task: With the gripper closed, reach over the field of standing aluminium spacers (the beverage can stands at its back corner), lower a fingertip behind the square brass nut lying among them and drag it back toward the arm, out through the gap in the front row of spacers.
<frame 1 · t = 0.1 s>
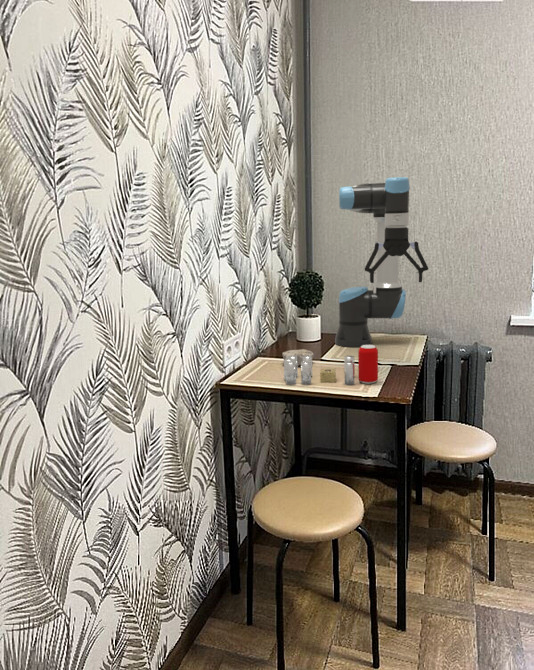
hand: (395, 292, 202), 28 cm above the table, fingers open, 13 cm apart
beverage can: (368, 382, 201), on the table
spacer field: (328, 380, 204), on the table
nut: (328, 380, 204), on the table
rock: (296, 365, 226), on the table
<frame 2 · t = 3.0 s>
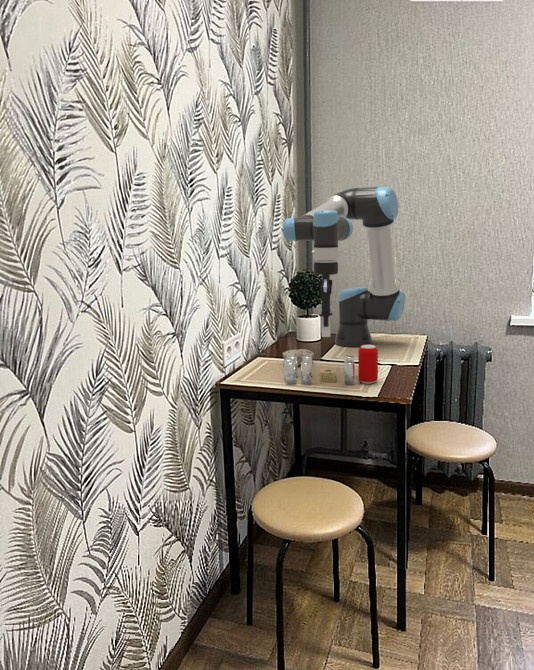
hand: (326, 336, 194), 16 cm above the table, fingers closed
nothing on the table moved.
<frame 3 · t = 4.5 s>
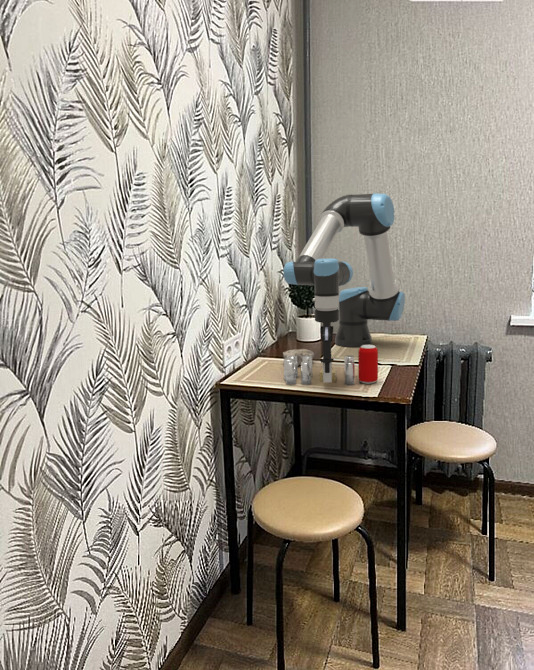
hand: (327, 381, 197), 2 cm above the table, fingers closed
nothing on the table moved.
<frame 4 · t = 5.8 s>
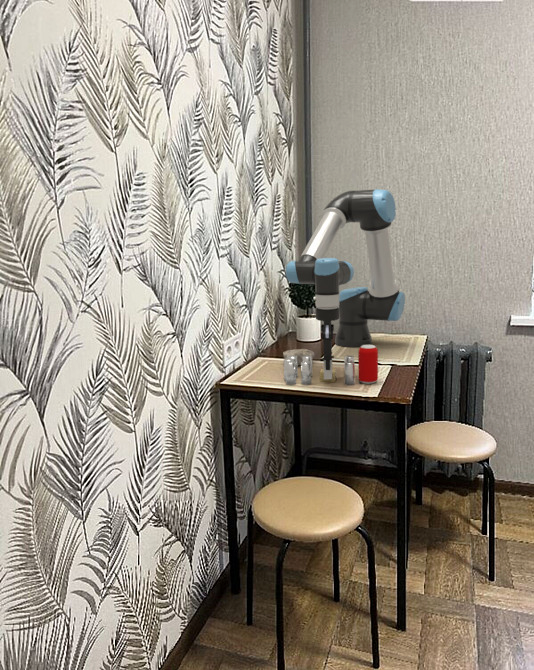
hand: (328, 378, 201), 1 cm above the table, fingers closed
nut: (328, 380, 204), on the table, touching gripper
everything else where it was.
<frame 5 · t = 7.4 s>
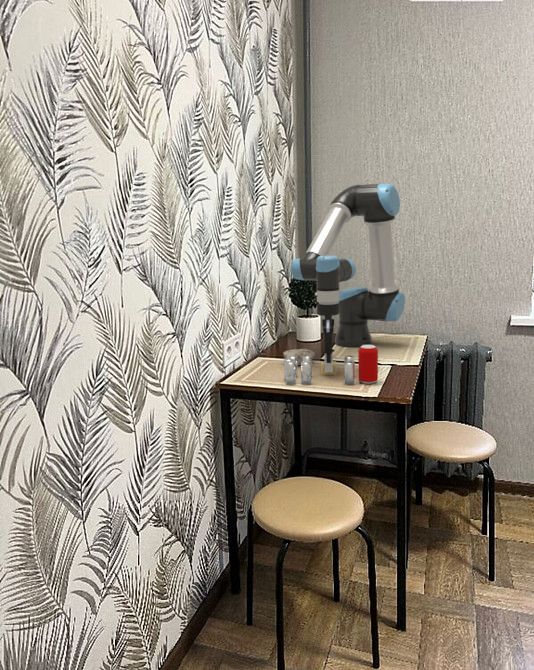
hand: (328, 371, 210), 1 cm above the table, fingers closed
nut: (328, 373, 213), on the table, touching gripper
everything else where it was.
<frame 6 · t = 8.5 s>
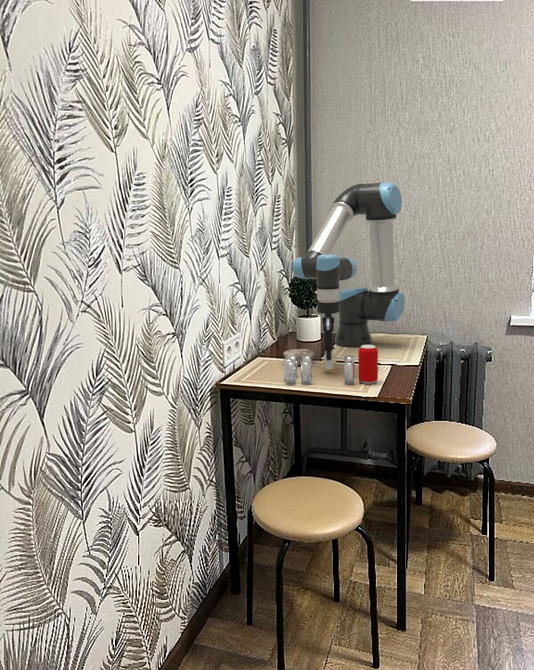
hand: (328, 368, 213), 2 cm above the table, fingers closed
nut: (329, 371, 216), on the table
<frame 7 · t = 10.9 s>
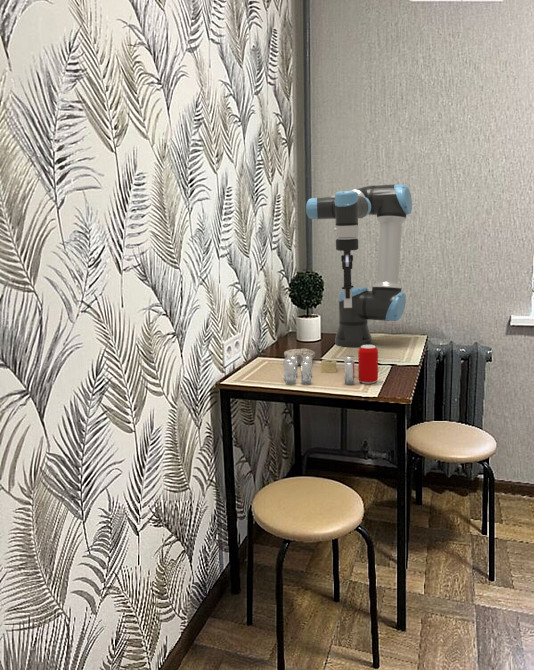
hand: (347, 307, 212), 22 cm above the table, fingers closed
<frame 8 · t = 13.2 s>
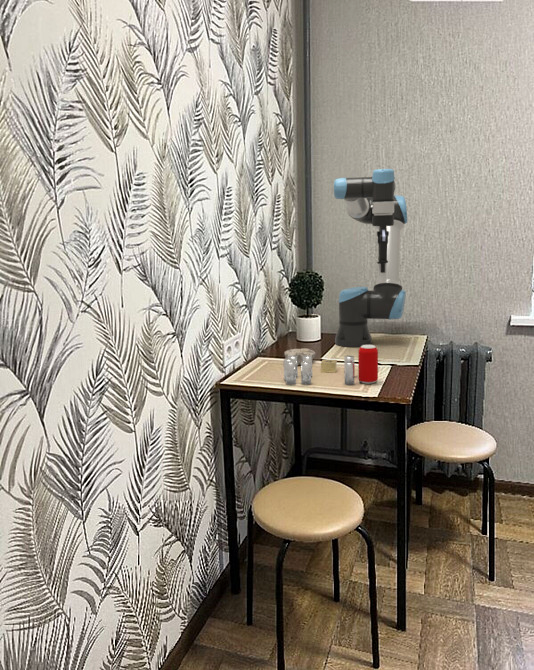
hand: (382, 281, 221), 29 cm above the table, fingers closed
at the end: nut inside the target area (0.2 cm from its centre), on the table; nut touching table; nut moved 12.3 cm from its start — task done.
